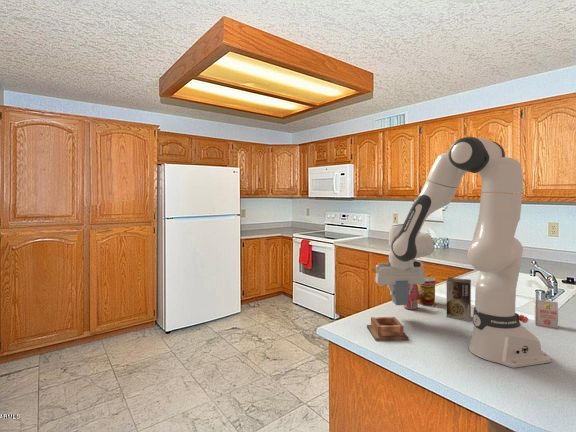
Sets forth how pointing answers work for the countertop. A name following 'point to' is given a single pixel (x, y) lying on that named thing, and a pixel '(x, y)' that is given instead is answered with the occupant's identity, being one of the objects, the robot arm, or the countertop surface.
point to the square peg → (400, 293)
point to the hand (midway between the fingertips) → (400, 294)
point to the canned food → (426, 292)
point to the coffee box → (458, 298)
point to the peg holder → (386, 329)
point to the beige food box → (546, 314)
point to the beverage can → (412, 298)
